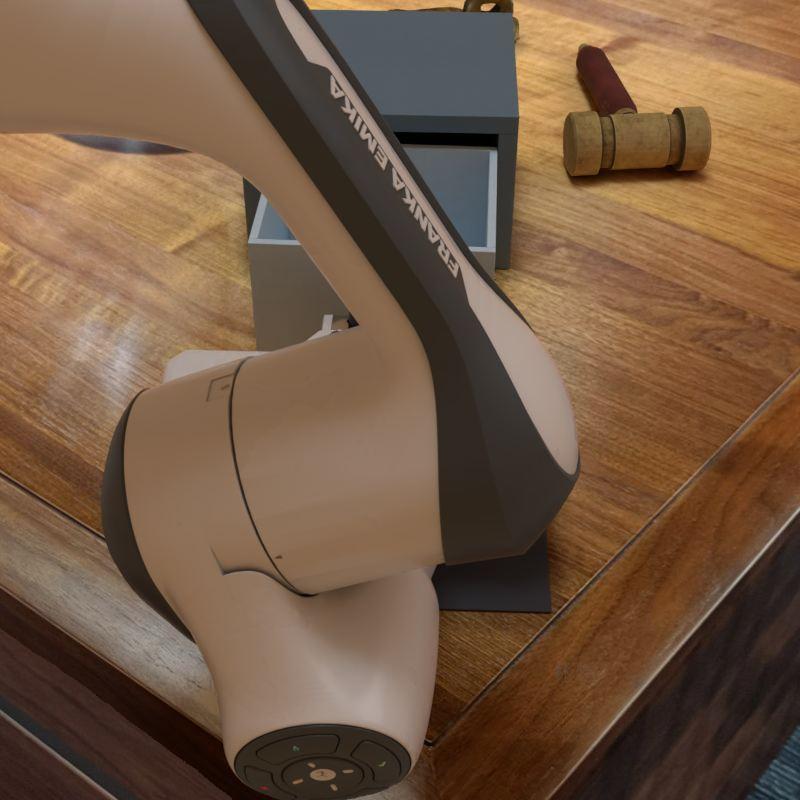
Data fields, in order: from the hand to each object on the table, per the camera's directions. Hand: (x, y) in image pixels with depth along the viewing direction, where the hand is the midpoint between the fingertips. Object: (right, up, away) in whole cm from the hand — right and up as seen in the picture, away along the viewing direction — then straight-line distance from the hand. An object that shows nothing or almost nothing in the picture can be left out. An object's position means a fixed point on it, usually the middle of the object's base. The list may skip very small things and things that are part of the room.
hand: (366, 325), depth 75 cm
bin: (+1, 0, +9) cm, 9 cm away
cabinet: (+1, +10, +21) cm, 23 cm away
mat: (+1, -11, -4) cm, 11 cm away
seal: (+5, +27, +42) cm, 50 cm away
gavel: (+18, +18, +31) cm, 41 cm away
